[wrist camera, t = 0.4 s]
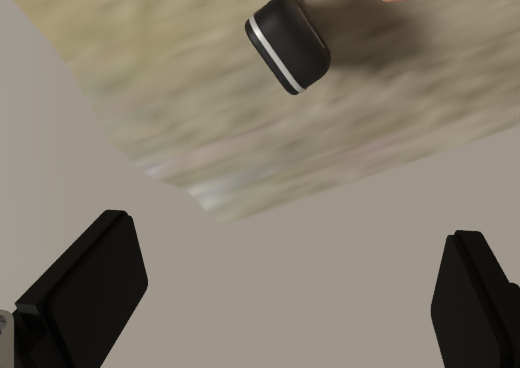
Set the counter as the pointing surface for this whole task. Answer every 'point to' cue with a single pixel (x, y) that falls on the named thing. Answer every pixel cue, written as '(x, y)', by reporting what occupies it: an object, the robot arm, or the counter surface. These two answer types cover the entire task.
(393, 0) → the salt shaker
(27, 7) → the counter surface
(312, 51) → the battery charger
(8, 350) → the robot arm
